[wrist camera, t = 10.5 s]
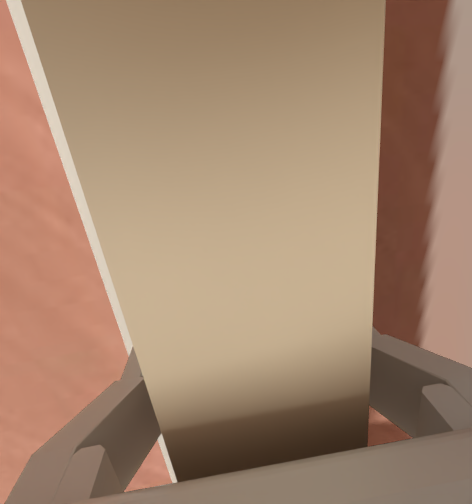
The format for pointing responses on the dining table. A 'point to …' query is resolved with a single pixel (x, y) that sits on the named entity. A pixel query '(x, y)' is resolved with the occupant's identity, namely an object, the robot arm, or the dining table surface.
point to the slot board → (72, 176)
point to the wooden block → (232, 208)
